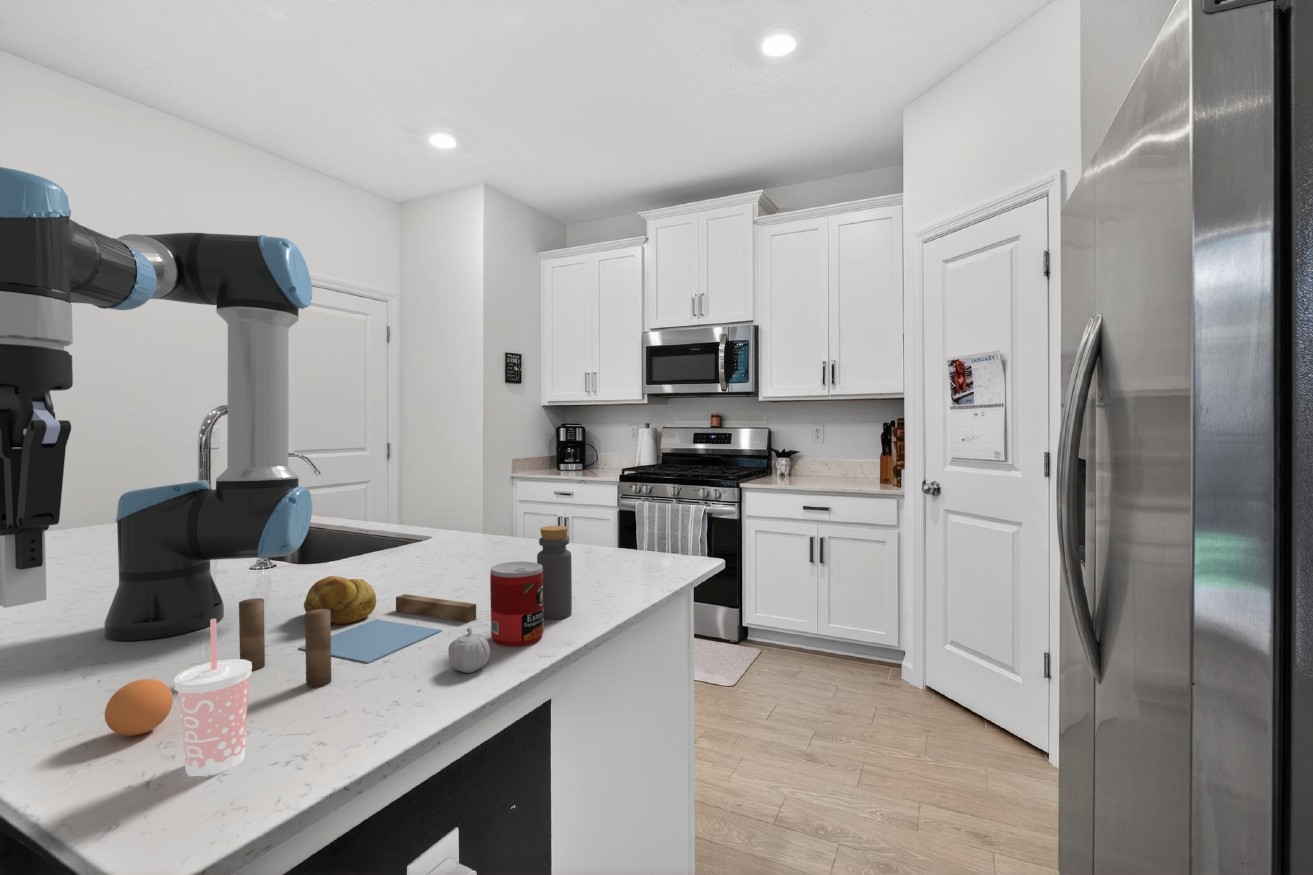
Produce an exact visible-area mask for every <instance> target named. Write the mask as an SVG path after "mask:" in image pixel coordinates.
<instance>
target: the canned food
mask: <svg viewBox="0 0 1313 875" xmlns="http://www.w3.org/2000/svg"><path fill="white" fill-rule="evenodd" d="M489 574H490V575H489V576H490V577H489V578H490V580H489V584H490V585H489V587H490V588H489V590H490V636H491V639H492V642H493V643H494V644H496V645H498V646H502V647H510V648H512V647H513V648H514V647H515V648H516V647H524V646H529V645H533V644H535V643H537V642H538V641H540V640H541V639H542V637H543V633H544V619H543V567H542V565H541V564H538V563H537V562H534V561H509V562H501V563H498V564H495V565H493V566H491V568H490V573H489Z"/></svg>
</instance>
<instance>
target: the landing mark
mask: <svg viewBox="0 0 1313 875" xmlns="http://www.w3.org/2000/svg"><path fill="white" fill-rule="evenodd" d="M442 631H443V630H442V629H438V628H433V627H426V626H420V625H414V624H408V623H402V622H397V621H390V620H383V619H376V618H375V619H374V620H370V621H368V622H366V623H363V624H360V625H357V626H354V627H352V628H349V629H346V630H344V631H340V632H337V633H335V634H333V635H331V657H336V658H340V659H345V660H350V661H356V662H360V663H365V664H370V663H372V662H374V661H378V660H379V659H382V658H384V657H386V656H388V655H391V654H393V653H395V652H397V651H400V650H402V649H405V648H407V647H409V646H411V645H414V644H416V643H419V642H420V641H423V640H425V639H427V638H429V637H432V636H434V635H436V634H439V633H441V632H442ZM298 650H300V651H305V652H306V646H305V645H301V646H299V647H298Z"/></svg>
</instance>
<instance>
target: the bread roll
mask: <svg viewBox="0 0 1313 875" xmlns="http://www.w3.org/2000/svg"><path fill="white" fill-rule="evenodd" d="M376 606H377V596H376V592H375V590H374V589H373V585H371V584H369V583H368V582H367V581H365V580H364V579H363V578H362V579H359V578H350V579H349V578H347V577H343V576H335V575H331V576H326V577H325V578H324V577H323V578H322V579H320V580H317V581H316V582H315V583H314V584H313V585H312V586H311V587H310V588H309V589H308V591H307V594H306V596H305V600H304V603H303V608H304V610H305V613H307V612H309V611H312V610H317V609H329V610H330V618H331V626H342V625H347V624H352V623H356V622H358V621H360V620H363V619H366V618H368V616H370V615H371V614H372V613H373V611H374V610H375V609H376V608H375V607H376Z"/></svg>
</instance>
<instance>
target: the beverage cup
mask: <svg viewBox="0 0 1313 875" xmlns="http://www.w3.org/2000/svg"><path fill="white" fill-rule="evenodd" d="M209 627H210V628H209V629H210V630H209V631H210V661H208V662H206V663H202V664H198V665H195V666H192V667H189V668H188V669H185V670H183V671H181V672H180V673H178V674H176V675H175V676H174V680H173V685H174V691H176V692H177V695H178V706H179V713H180V714H179V715H180V726H181V734H182V746H183V755H184V756H183V757H184V763H185V764H184V765H185V766H184V767H185V773H186V772H187V773H188V774H190V775H193V776H205V775H206V776H205V777H209V776H208V775H211V776H214V775H213V774H215V775H218V774H221V772H222V773H224V772H226V770H227V771H229V770H231V769H233V768H235V767H236V766H237V765H239V764H241V762H242V761H243V760H244V759H245V752H246V751H245V750H246V738H247V737H246V734H247V714H248V698H249V697H248V696H249V679H250V676H252V672H253V671H251V670H252V662H250V661H248V660H243V659H240V658H232V659H221V660H218V642H217V636H218V634H217V622H216V619H211V620H210V625H209ZM188 774H187V775H188Z"/></svg>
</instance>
